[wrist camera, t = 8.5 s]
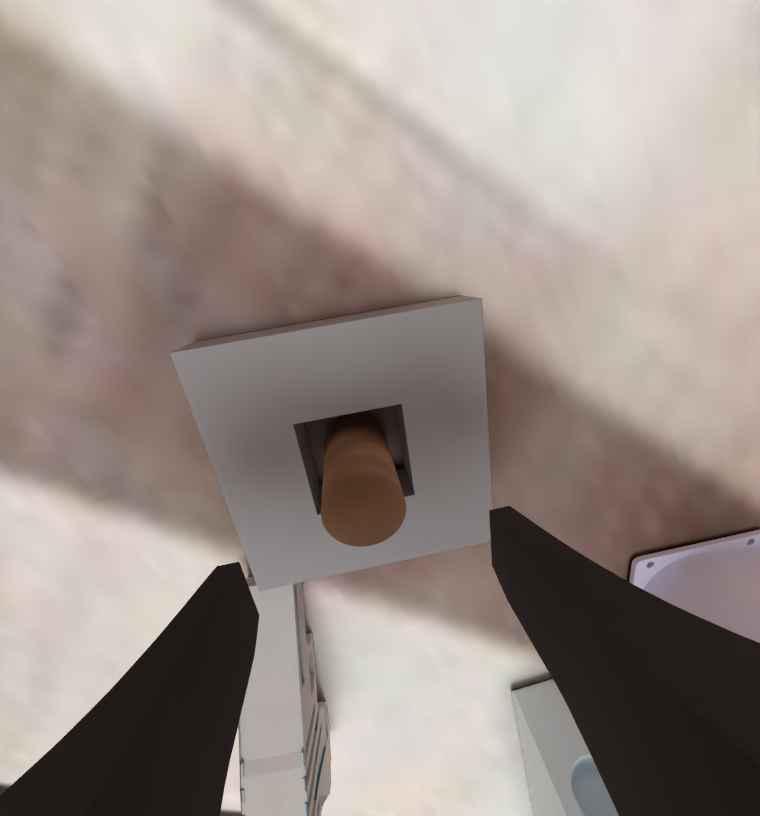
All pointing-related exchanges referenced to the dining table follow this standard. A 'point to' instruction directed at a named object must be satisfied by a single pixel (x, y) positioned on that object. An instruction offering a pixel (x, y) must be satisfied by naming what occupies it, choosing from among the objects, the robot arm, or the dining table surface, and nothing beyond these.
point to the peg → (360, 483)
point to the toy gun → (283, 714)
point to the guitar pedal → (557, 756)
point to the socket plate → (339, 395)
